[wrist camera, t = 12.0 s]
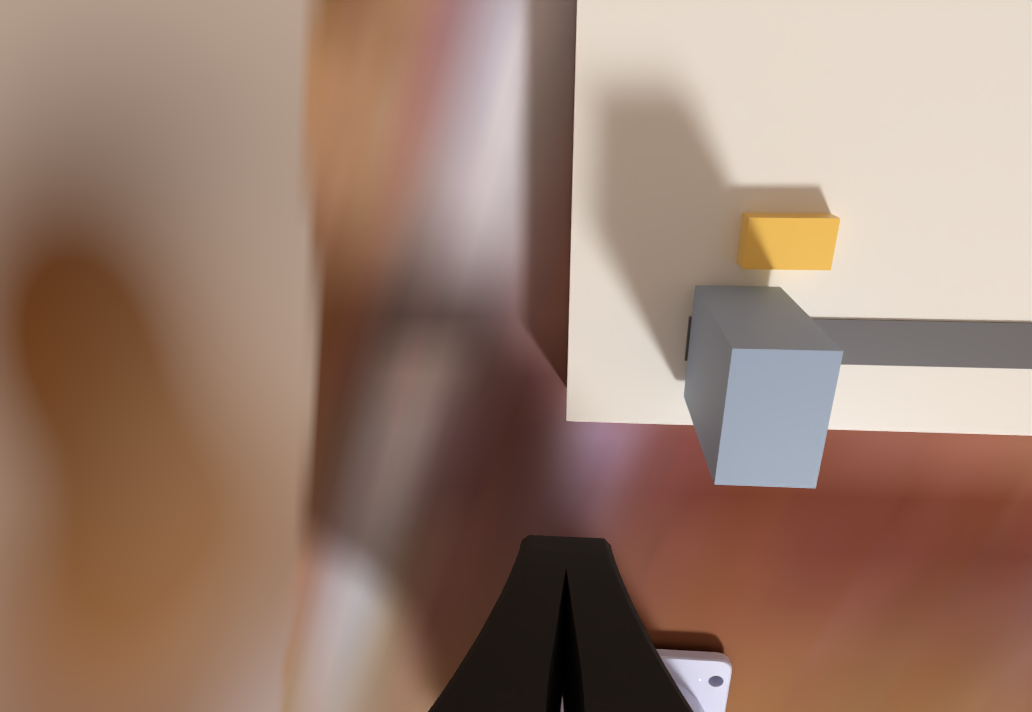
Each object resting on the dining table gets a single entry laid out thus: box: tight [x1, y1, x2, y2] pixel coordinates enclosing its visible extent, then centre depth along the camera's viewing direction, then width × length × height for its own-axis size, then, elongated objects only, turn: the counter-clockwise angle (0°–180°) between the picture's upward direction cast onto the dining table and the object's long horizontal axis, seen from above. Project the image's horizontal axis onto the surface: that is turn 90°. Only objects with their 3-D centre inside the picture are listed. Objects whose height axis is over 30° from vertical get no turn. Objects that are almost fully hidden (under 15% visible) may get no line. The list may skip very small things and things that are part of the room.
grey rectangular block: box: [684, 285, 843, 488], centre depth 15 cm, size 3×2×4 cm, turn 1°
